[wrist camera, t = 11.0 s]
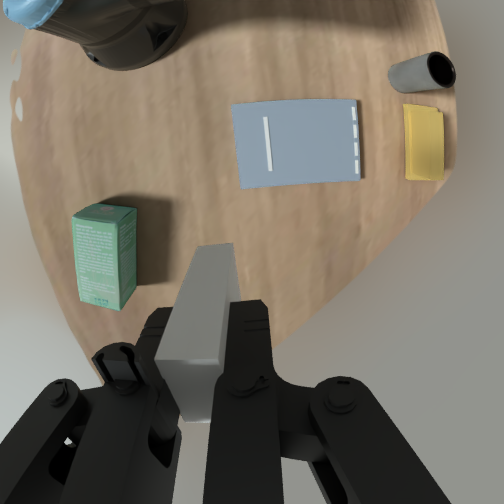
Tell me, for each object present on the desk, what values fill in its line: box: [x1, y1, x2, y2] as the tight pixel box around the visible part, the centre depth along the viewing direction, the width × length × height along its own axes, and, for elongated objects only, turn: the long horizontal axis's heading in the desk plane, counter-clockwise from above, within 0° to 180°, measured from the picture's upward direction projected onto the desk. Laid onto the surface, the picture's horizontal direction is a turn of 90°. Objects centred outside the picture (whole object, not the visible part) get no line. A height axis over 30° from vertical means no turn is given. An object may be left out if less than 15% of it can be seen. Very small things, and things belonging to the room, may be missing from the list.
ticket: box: [231, 99, 360, 189], centre depth 34 cm, size 11×16×1 cm
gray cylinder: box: [388, 52, 456, 93], centre depth 25 cm, size 4×4×10 cm
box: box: [72, 204, 137, 311], centre depth 37 cm, size 7×14×8 cm, turn 171°
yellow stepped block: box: [403, 104, 444, 180], centre depth 31 cm, size 11×6×6 cm, turn 6°
